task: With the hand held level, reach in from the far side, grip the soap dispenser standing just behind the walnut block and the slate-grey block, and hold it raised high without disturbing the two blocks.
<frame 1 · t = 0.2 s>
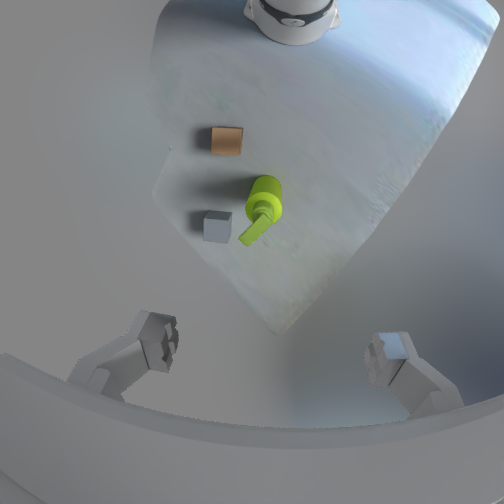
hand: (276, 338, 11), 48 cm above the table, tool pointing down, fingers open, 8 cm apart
soap dispenser: (265, 190, 56), on the table
slate-grey block: (220, 222, 60), on the table
walnut block: (229, 139, 52), on the table
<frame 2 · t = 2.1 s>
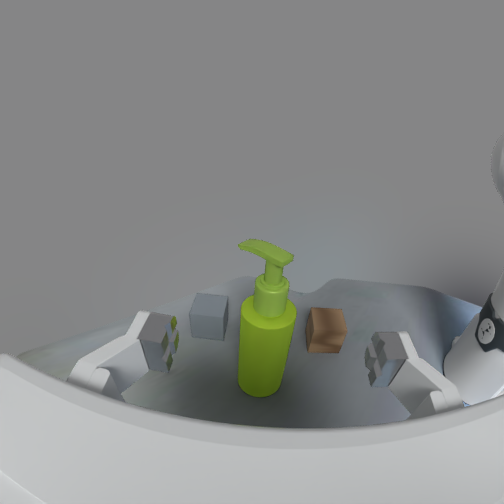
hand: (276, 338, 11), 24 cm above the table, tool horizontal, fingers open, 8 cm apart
soap dispenser: (256, 378, 36), on the table
slate-grey block: (210, 328, 44), on the table
walnut block: (321, 341, 42), on the table
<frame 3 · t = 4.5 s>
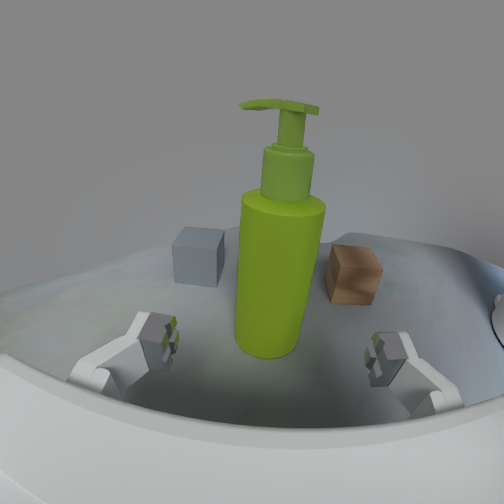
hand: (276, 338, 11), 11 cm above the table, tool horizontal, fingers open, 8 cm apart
soap dispenser: (261, 334, 26), on the table
slate-grey block: (200, 273, 34), on the table
walnut block: (346, 292, 32), on the table
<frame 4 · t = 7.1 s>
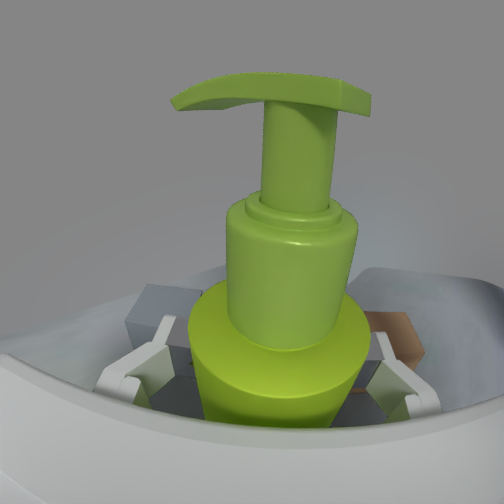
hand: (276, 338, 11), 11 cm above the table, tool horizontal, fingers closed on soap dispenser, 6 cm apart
soap dispenser: (253, 452, 15), on the table, touching gripper
slate-grey block: (172, 347, 23), on the table
walnut block: (369, 370, 22), on the table
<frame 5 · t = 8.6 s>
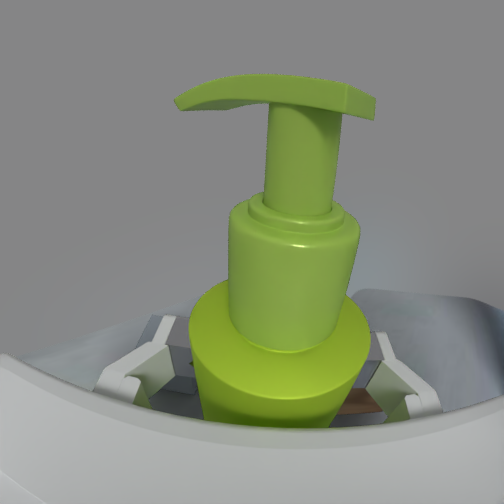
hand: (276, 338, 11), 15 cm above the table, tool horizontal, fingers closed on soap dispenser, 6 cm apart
soap dispenser: (251, 452, 15), point 4 cm above the table, touching gripper
slate-grey block: (175, 370, 25), on the table
walnut block: (354, 393, 24), on the table
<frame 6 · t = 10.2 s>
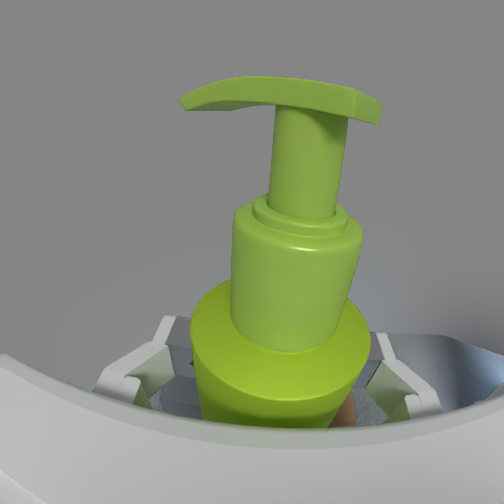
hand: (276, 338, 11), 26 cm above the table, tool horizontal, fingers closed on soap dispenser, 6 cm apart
soap dispenser: (248, 452, 15), point 14 cm above the table, touching gripper
slate-grey block: (188, 405, 32), on the table
walnut block: (323, 423, 31), on the table
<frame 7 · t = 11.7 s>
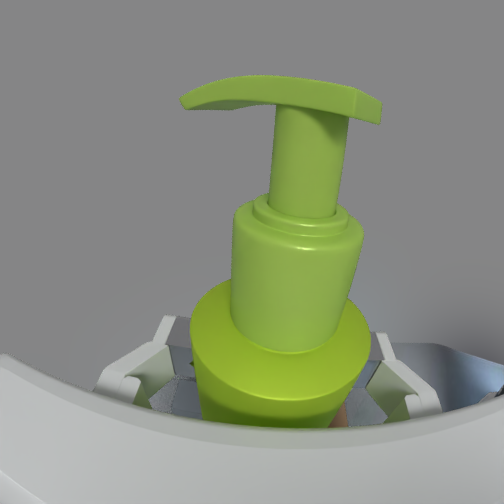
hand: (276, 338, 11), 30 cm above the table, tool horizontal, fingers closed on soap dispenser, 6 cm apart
soap dispenser: (248, 452, 15), point 19 cm above the table, touching gripper
slate-grey block: (196, 412, 35), on the table
walnut block: (319, 428, 34), on the table
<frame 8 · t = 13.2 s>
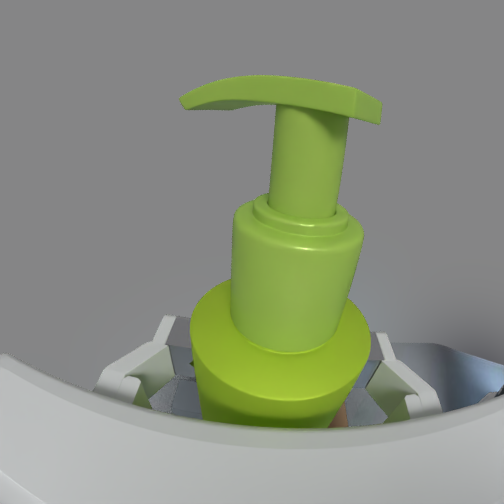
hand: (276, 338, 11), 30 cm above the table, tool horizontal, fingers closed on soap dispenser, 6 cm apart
soap dispenser: (248, 452, 15), point 19 cm above the table, touching gripper
slate-grey block: (196, 412, 35), on the table
walnut block: (319, 428, 34), on the table
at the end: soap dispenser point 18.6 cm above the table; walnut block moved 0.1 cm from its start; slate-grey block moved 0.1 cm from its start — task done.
